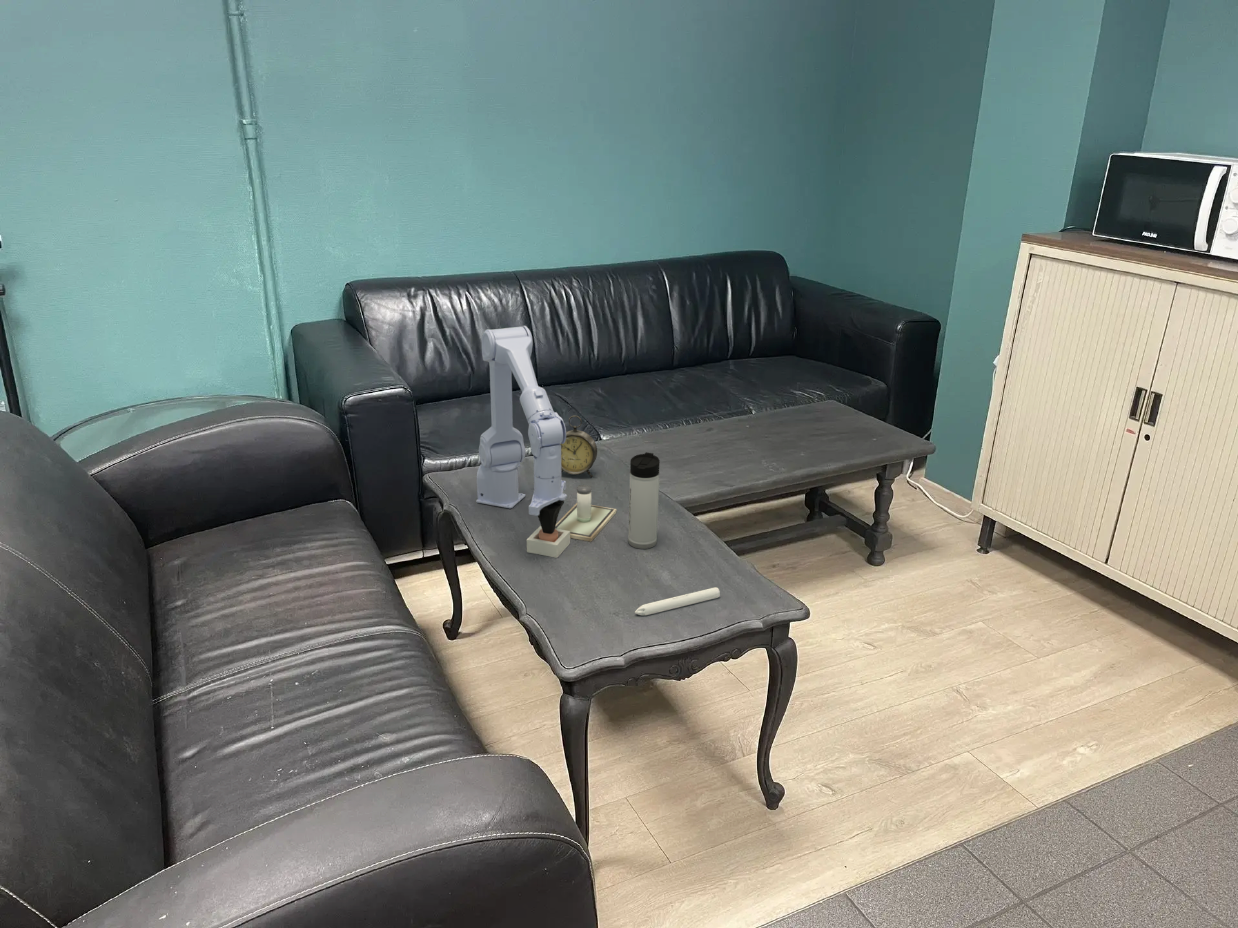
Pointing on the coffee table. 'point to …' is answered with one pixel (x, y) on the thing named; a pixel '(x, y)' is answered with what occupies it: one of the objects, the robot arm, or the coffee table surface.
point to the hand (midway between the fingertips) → (548, 532)
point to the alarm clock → (578, 452)
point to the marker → (678, 601)
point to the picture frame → (588, 529)
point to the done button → (548, 536)
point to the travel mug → (643, 500)
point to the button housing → (548, 544)
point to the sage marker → (584, 503)
